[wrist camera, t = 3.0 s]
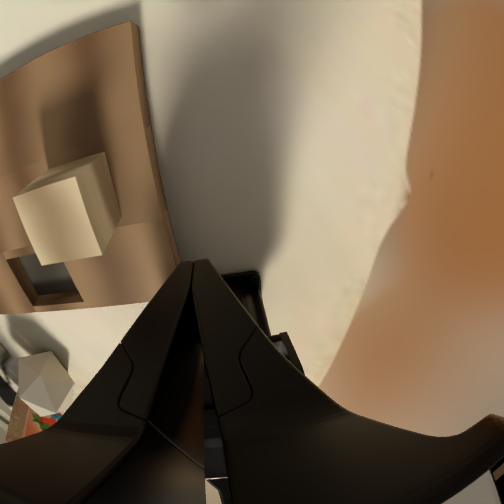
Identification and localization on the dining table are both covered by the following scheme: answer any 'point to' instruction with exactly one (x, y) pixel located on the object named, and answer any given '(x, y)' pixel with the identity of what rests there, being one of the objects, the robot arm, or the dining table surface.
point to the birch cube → (70, 210)
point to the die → (44, 384)
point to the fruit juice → (27, 420)
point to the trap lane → (76, 147)
